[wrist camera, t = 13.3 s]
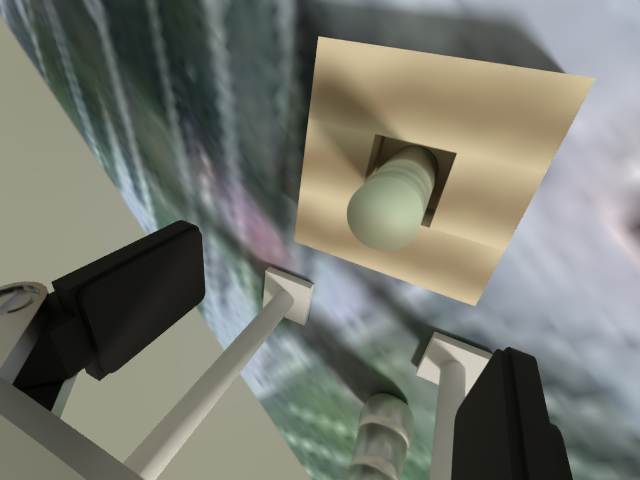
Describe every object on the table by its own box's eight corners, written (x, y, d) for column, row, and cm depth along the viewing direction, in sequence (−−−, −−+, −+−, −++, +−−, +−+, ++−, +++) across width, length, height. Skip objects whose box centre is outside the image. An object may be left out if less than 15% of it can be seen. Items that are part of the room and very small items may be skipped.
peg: (395, 139, 25) (354, 172, 16) (445, 151, 24) (431, 194, 15) (383, 186, 27) (340, 237, 18) (429, 198, 26) (407, 260, 17)
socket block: (343, 43, 25) (318, 36, 21) (570, 78, 20) (595, 78, 16) (315, 221, 33) (293, 241, 29) (474, 273, 28) (475, 306, 24)
